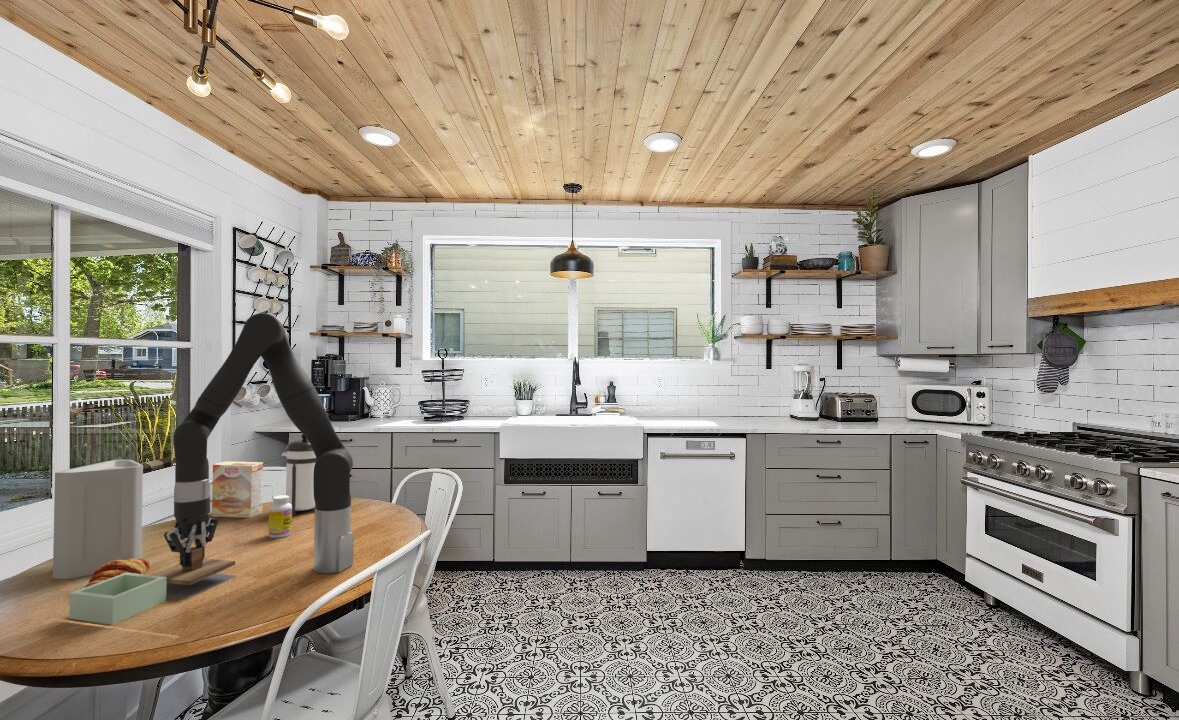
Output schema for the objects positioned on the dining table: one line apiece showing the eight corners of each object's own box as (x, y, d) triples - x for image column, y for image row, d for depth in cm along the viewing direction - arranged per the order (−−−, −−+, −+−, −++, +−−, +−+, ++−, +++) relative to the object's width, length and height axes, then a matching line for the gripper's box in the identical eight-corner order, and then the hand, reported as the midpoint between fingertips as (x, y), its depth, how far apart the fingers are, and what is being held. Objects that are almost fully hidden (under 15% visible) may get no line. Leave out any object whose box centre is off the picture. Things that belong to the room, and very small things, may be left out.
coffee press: (310, 517, 197) (311, 436, 197) (271, 514, 200) (273, 435, 200) (339, 505, 214) (340, 431, 215) (303, 502, 217) (304, 429, 217)
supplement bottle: (284, 538, 174) (284, 499, 174) (264, 538, 174) (264, 499, 174) (295, 532, 180) (296, 494, 180) (276, 531, 181) (277, 494, 181)
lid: (235, 564, 142) (235, 542, 142) (190, 585, 130) (190, 560, 130) (194, 561, 145) (194, 539, 145) (146, 580, 132) (146, 556, 132)
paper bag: (107, 578, 141) (109, 473, 141) (50, 578, 140) (52, 472, 140) (164, 553, 160) (165, 460, 160) (113, 552, 159) (115, 459, 160)
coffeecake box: (210, 517, 196) (211, 464, 196) (224, 511, 203) (225, 460, 203) (250, 518, 196) (251, 465, 196) (262, 512, 203) (263, 461, 203)
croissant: (137, 581, 148) (123, 556, 148) (172, 563, 149) (158, 538, 149) (73, 615, 127) (57, 586, 127) (114, 594, 128) (98, 565, 128)
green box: (166, 602, 128) (166, 577, 128) (112, 626, 116) (112, 598, 116) (126, 596, 130) (126, 572, 130) (69, 619, 119) (69, 593, 119)
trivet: (236, 577, 143) (236, 575, 143) (187, 600, 129) (187, 598, 129) (193, 572, 146) (193, 571, 146) (141, 594, 132) (141, 592, 132)
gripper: (178, 505, 130) (178, 575, 130) (228, 491, 143) (228, 555, 143) (153, 503, 131) (153, 573, 131) (204, 489, 145) (204, 553, 145)
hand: (192, 563), depth 137 cm, fingers closed on lid, 3 cm apart
